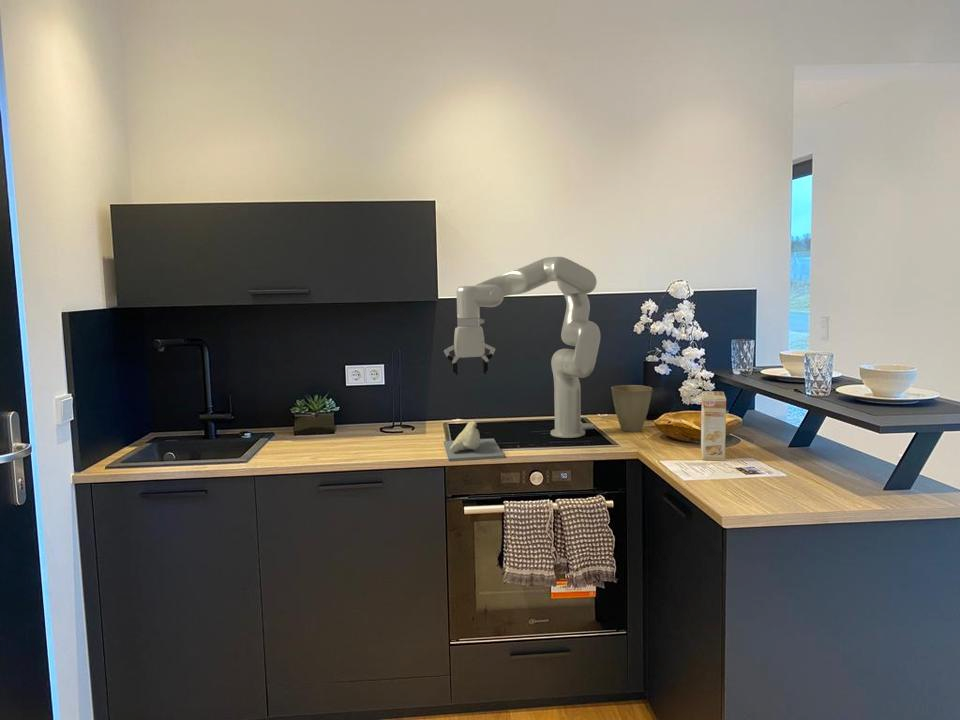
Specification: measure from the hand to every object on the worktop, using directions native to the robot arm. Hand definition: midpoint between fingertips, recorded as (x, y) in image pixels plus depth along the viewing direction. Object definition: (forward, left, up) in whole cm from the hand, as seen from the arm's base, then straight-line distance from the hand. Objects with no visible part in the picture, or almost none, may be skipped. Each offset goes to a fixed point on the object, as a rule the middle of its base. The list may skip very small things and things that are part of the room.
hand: (470, 374), depth 233 cm
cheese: (+2, 0, -26) cm, 26 cm away
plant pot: (-62, -17, -26) cm, 69 cm away
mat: (0, 0, -26) cm, 26 cm away
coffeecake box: (-75, +23, -26) cm, 83 cm away
